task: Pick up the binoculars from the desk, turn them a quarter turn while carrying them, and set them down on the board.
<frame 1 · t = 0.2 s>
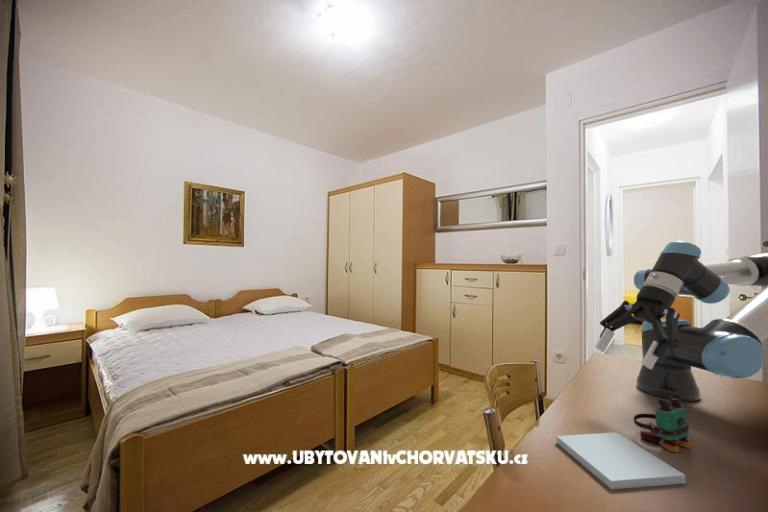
hand: (620, 357, 84), 16 cm above the table, tool tilted 35°, fingers open, 13 cm apart
board: (614, 460, 65), on the table
binoculars: (659, 441, 72), on the table
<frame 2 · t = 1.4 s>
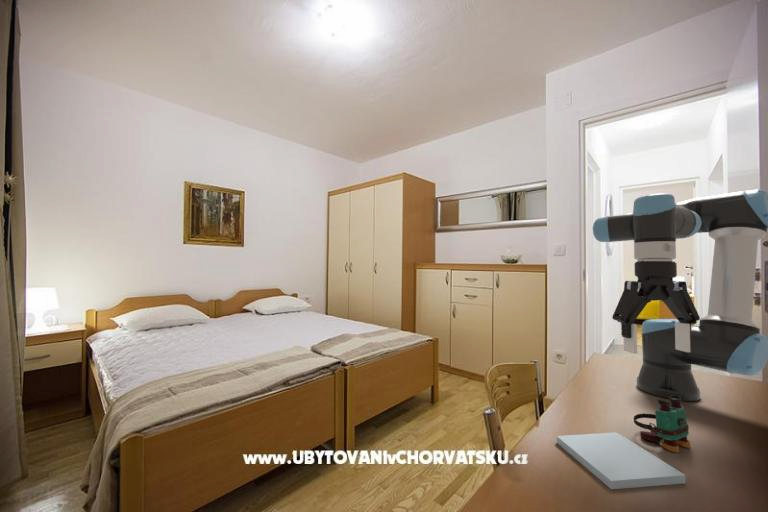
hand: (656, 351, 73), 20 cm above the table, tool pointing down, fingers open, 13 cm apart
nothing on the table moved.
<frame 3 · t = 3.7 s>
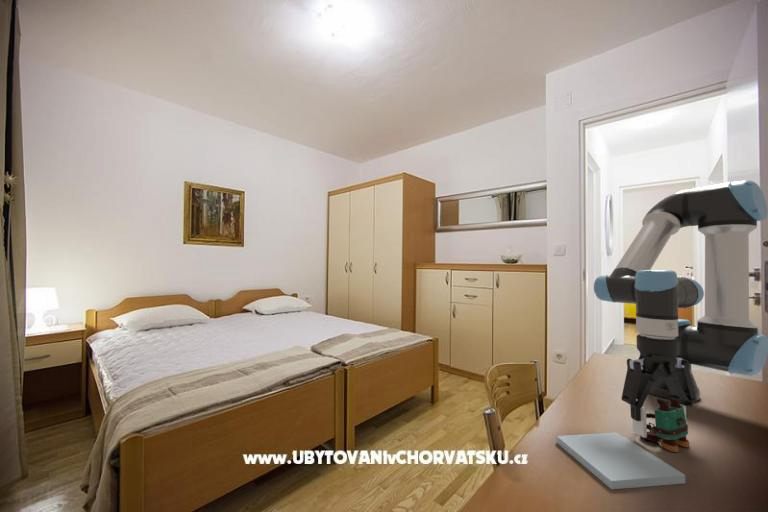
hand: (659, 433, 72), 2 cm above the table, tool pointing down, fingers closed on binoculars, 9 cm apart
binoculars: (659, 440, 72), on the table, touching gripper
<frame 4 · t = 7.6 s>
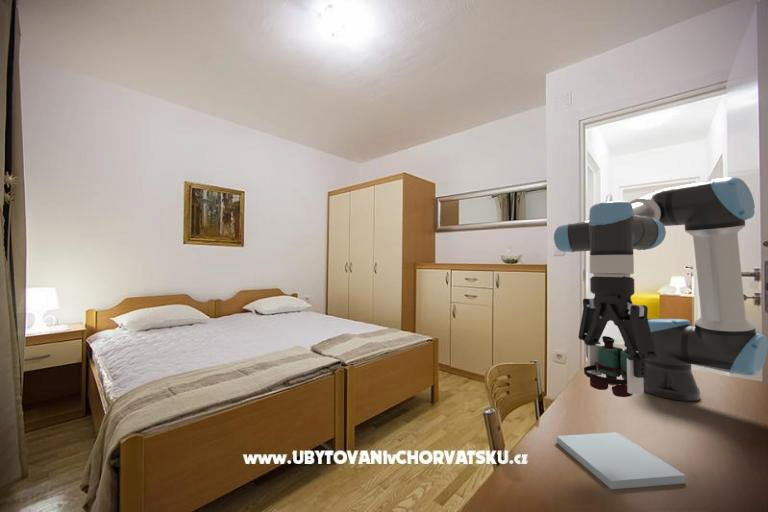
hand: (613, 383, 65), 16 cm above the table, tool pointing down, fingers closed on binoculars, 9 cm apart
binoculars: (614, 392, 65), point 14 cm above the table, touching gripper
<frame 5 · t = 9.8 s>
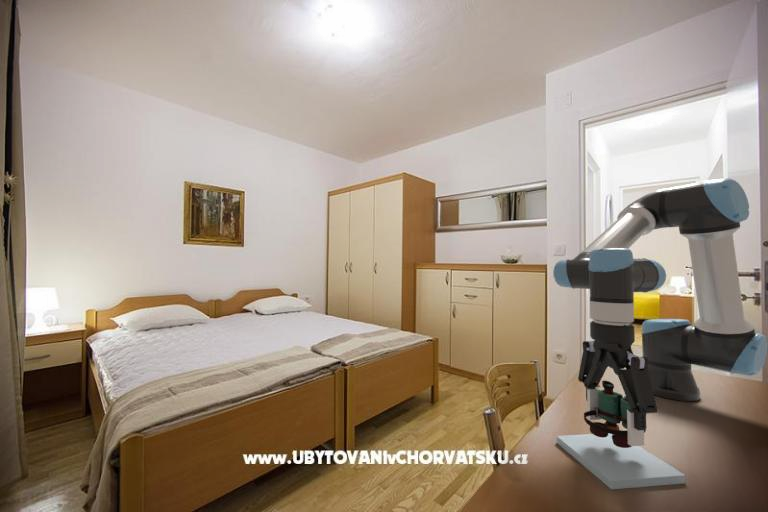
hand: (613, 430, 65), 6 cm above the table, tool pointing down, fingers closed on binoculars, 9 cm apart
binoculars: (614, 439, 64), point 4 cm above the table, touching gripper
when the fingers open (4 cm above the table, at t = 11.4 s): binoculars stays where it is, resting on board.
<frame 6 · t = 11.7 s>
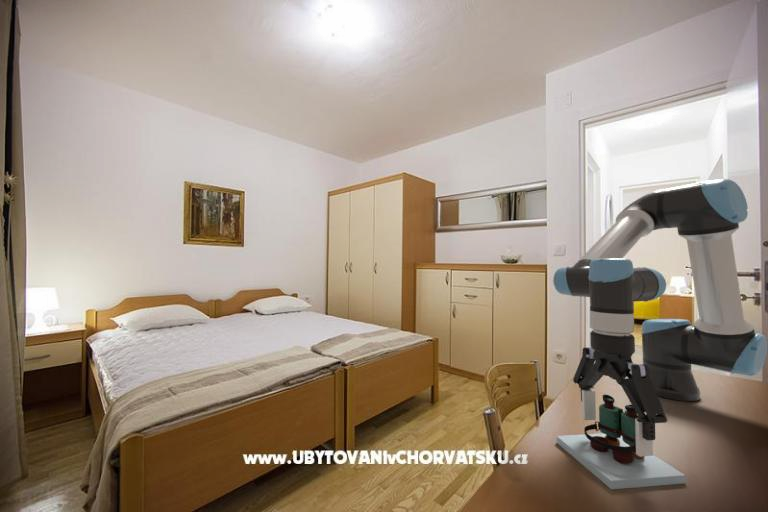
hand: (613, 435, 65), 5 cm above the table, tool pointing down, fingers open, 13 cm apart
binoculars: (614, 454, 64), point 1 cm above the table, touching board
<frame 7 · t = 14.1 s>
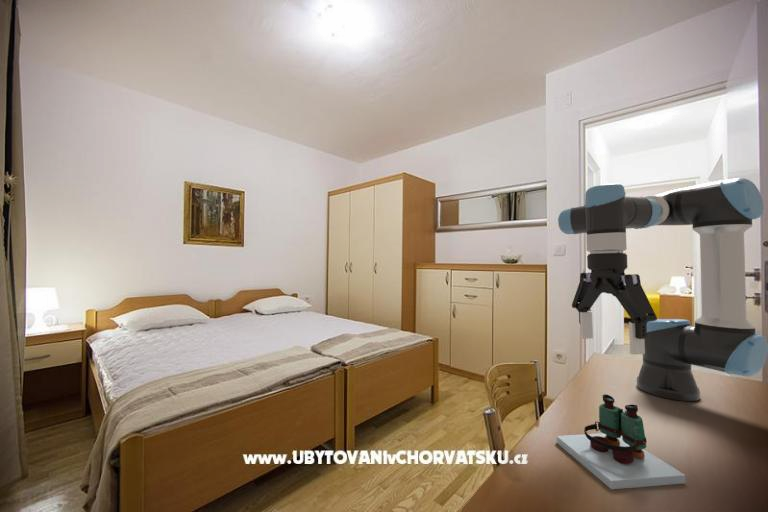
hand: (609, 345, 71), 22 cm above the table, tool pointing down, fingers open, 13 cm apart
nothing on the table moved.
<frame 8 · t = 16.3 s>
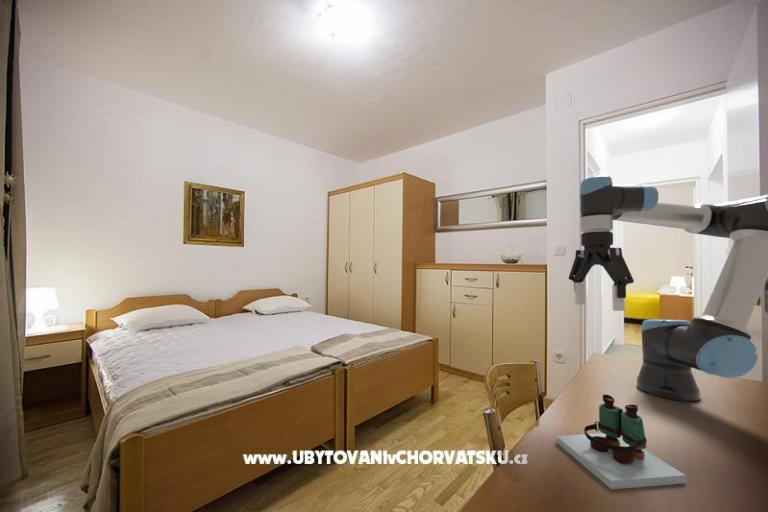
hand: (598, 307, 88), 29 cm above the table, tool pointing down, fingers open, 13 cm apart
nothing on the table moved.
at the end: binoculars inside the target area on the board (0.1 cm from its centre), point 1.3 cm above the board's base; binoculars touching board; the gripper is holding nothing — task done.
